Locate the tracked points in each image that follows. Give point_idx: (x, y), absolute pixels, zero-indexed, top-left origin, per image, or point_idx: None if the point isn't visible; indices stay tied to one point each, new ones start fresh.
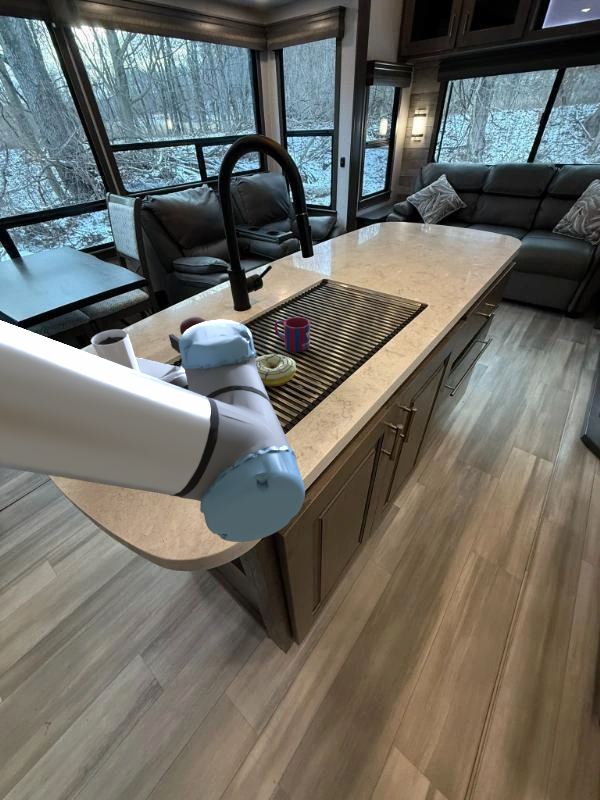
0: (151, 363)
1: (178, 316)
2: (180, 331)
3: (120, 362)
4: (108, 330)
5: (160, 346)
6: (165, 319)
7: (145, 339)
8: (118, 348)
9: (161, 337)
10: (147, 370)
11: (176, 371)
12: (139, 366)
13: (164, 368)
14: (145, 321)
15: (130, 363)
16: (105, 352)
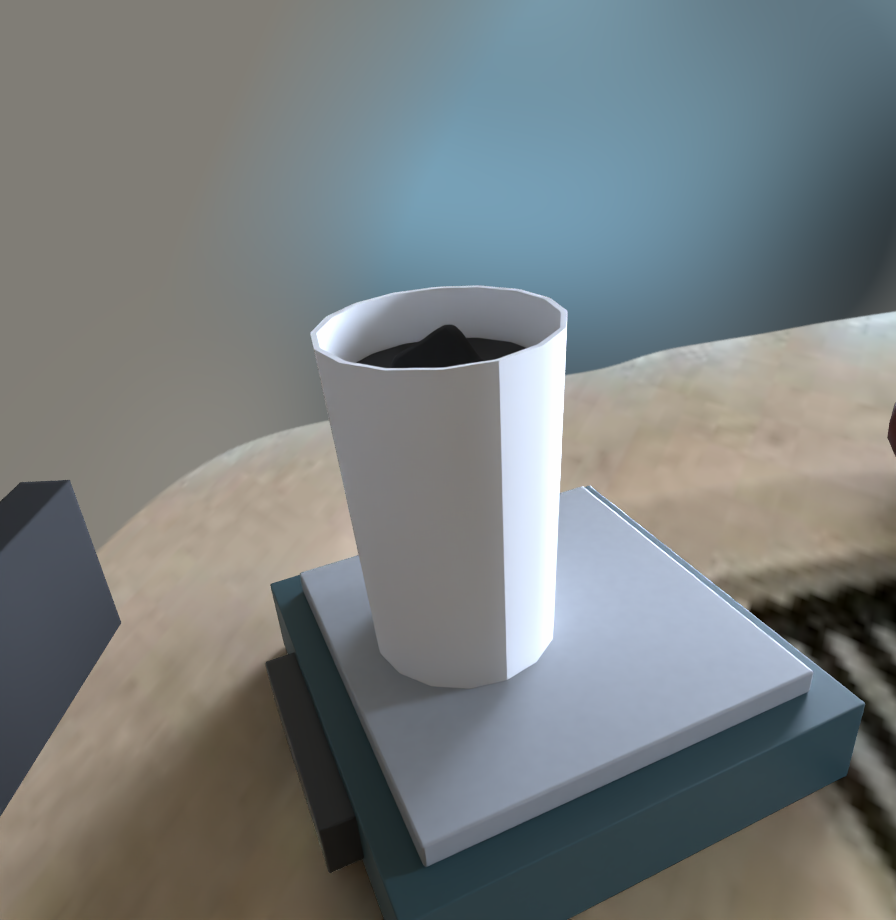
0: (656, 570)
1: (874, 354)
2: (892, 423)
3: (427, 525)
4: (473, 286)
5: (744, 467)
6: (808, 353)
7: (688, 412)
8: (440, 419)
9: (764, 424)
10: (609, 615)
11: (807, 719)
12: (580, 561)
13: (725, 654)
14: (719, 342)
15: (497, 553)
16: (350, 421)
